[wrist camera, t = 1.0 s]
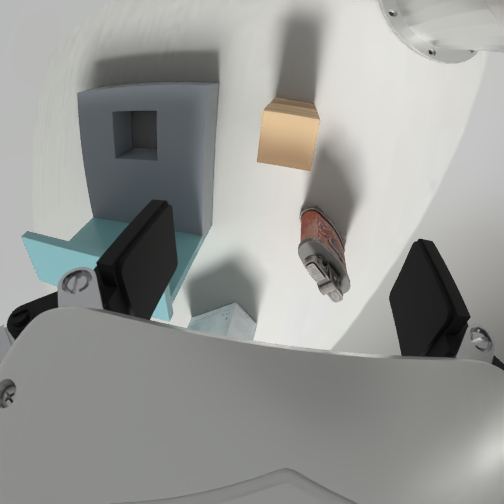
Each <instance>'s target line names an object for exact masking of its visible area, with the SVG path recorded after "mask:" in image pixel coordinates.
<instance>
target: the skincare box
mask: <svg viewBox="0 0 504 504" xmlns="http://www.w3.org/2000/svg"><path fill="white" fill-rule="evenodd" d="M256 327H257V324H256V323H255V322H254V321H253V320H252V318H251V317H250V316H249V315H248V314H247V313H246V312H245V311H244V310H243V309H242V308H241V307H240V306H239V305H238V304H237V303H236V302H234V303H232V304H229V305H226V306H223V307H221V308H218V309H215V310H212V311H209V312H206V313H204V314H201V315H198V316H195V317H192V318H191V320H190V323H189V325H188V329H193V330H197V331H202V332H208V333H213V334H218V335H224V336H229V337H235V338H241V339H247V340H253V338H254V334H255V331H256Z"/></svg>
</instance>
